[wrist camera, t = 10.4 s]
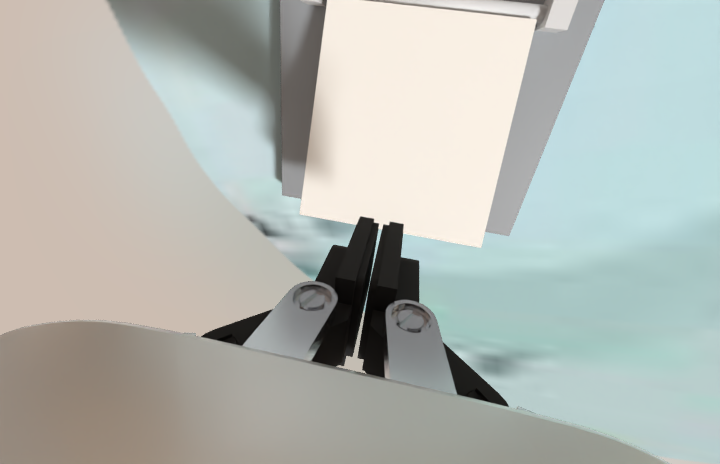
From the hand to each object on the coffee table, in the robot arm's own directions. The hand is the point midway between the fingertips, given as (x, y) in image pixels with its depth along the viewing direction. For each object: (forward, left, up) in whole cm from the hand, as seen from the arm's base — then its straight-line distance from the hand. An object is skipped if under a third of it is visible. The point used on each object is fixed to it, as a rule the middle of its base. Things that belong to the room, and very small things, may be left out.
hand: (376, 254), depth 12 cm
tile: (-4, 0, -7) cm, 8 cm away
